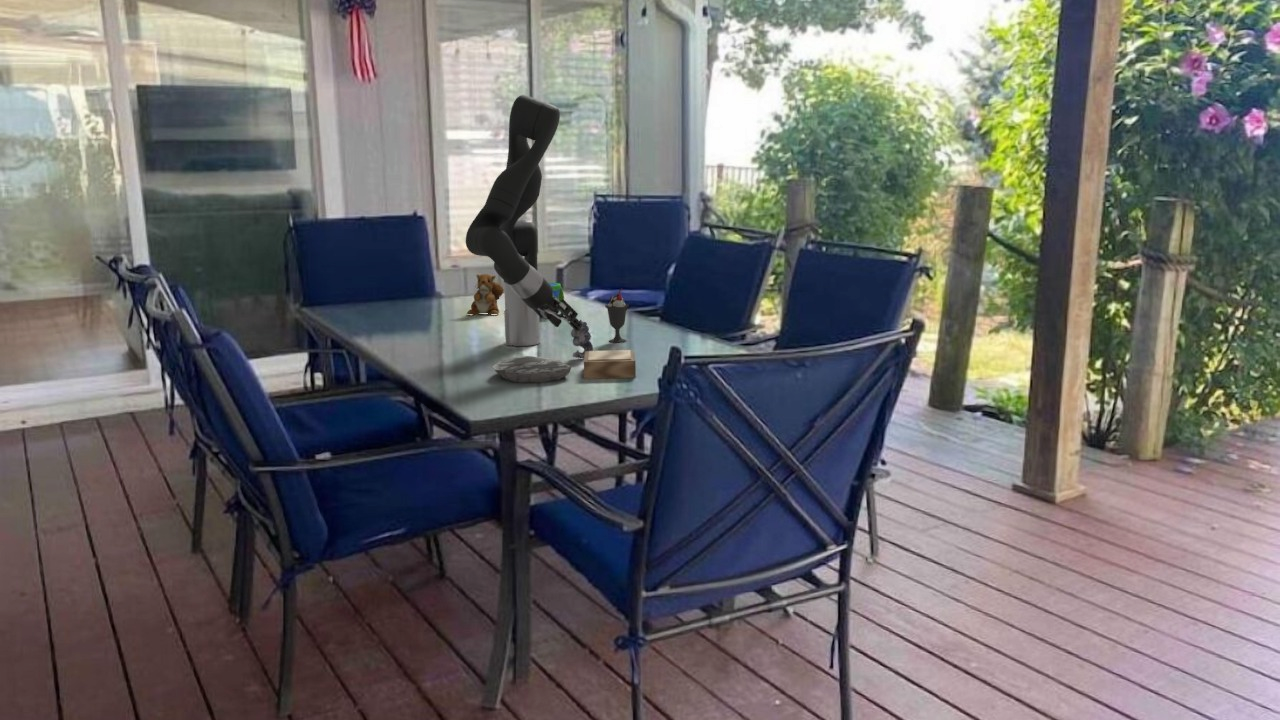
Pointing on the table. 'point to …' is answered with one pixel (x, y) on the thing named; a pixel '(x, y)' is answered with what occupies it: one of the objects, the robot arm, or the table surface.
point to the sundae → (617, 315)
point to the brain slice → (531, 369)
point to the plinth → (609, 364)
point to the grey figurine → (582, 340)
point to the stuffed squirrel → (486, 295)
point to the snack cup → (557, 291)
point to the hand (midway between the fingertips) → (569, 326)
